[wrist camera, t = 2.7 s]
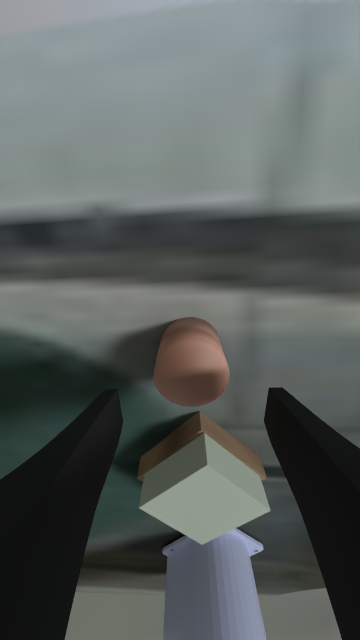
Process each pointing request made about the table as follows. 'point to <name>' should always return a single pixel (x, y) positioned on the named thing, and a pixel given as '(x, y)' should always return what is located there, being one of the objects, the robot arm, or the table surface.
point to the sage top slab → (203, 491)
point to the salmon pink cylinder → (190, 363)
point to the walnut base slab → (192, 431)
